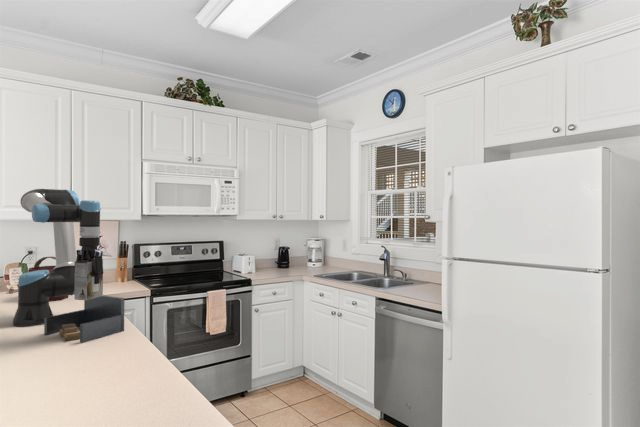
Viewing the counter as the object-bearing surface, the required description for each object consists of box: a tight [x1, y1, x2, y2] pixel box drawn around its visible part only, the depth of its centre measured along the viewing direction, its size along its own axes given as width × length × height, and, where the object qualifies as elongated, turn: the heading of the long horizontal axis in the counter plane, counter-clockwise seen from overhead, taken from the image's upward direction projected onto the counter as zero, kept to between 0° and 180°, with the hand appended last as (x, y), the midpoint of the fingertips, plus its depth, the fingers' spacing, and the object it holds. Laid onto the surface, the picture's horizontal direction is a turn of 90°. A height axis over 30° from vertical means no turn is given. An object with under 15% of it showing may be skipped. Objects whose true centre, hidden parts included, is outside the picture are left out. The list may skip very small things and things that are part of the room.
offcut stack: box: [58, 323, 80, 343], centre depth 165 cm, size 12×6×4 cm, turn 42°
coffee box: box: [74, 259, 104, 301], centre depth 173 cm, size 9×6×16 cm
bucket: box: [28, 256, 69, 303], centre depth 239 cm, size 24×22×25 cm
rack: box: [43, 294, 125, 344], centre depth 171 cm, size 24×19×14 cm
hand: (88, 290), depth 173 cm, fingers closed on coffee box, 7 cm apart
